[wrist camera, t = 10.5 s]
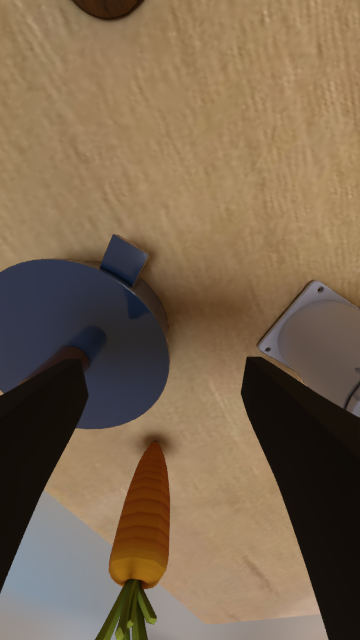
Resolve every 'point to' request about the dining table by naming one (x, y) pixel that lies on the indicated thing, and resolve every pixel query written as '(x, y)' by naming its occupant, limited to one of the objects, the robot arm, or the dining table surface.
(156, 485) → the carrot
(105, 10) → the mortar and pestle
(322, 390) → the robot arm
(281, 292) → the dining table surface
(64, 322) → the lid
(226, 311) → the dining table surface
